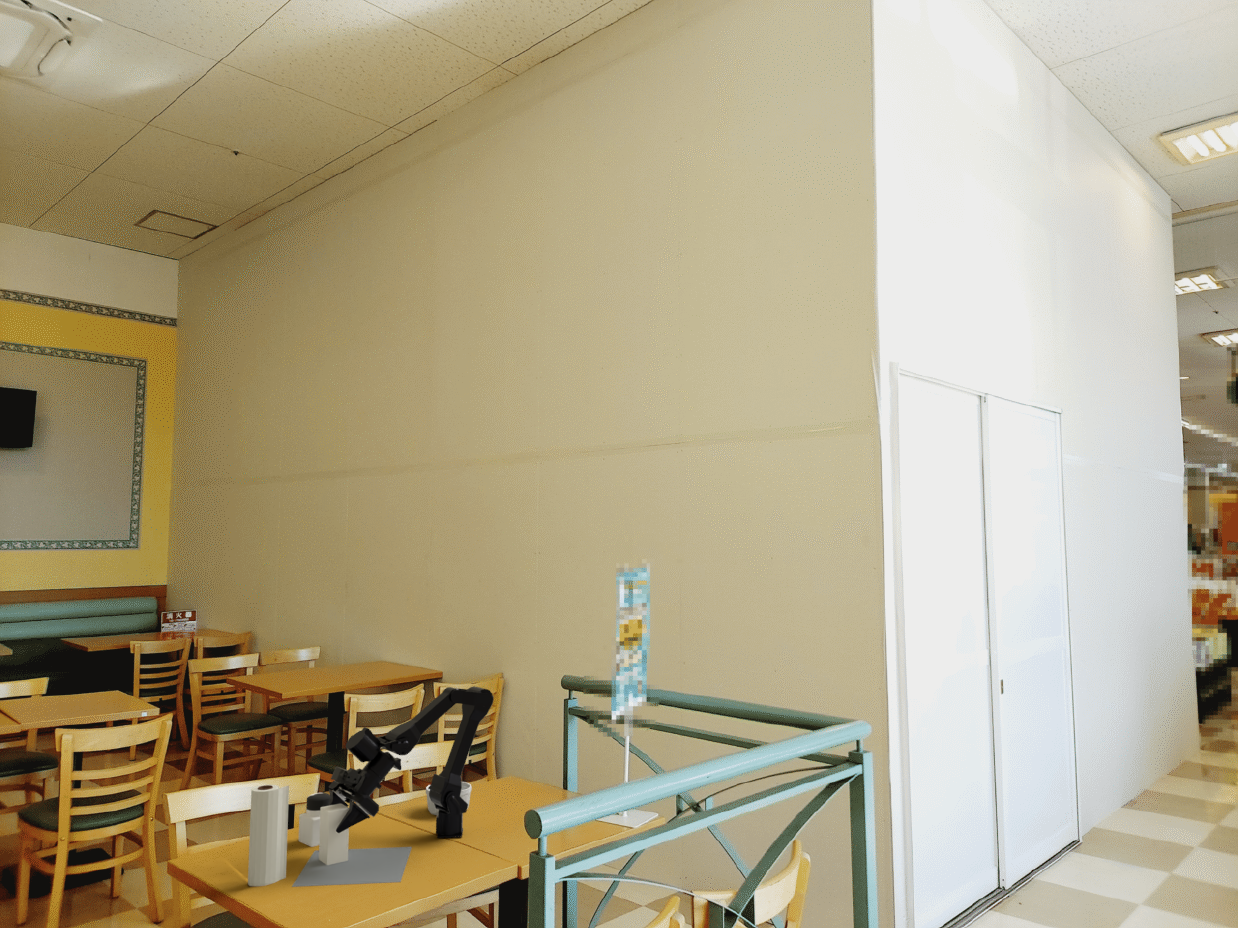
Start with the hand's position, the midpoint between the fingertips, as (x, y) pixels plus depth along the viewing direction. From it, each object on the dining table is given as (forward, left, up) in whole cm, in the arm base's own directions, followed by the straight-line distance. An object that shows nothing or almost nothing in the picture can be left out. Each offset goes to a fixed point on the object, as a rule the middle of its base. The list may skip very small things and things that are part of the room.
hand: (329, 827), depth 217 cm
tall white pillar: (-1, -1, -8) cm, 8 cm away
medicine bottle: (+6, -16, -9) cm, 19 cm away
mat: (-7, +4, -8) cm, 12 cm away
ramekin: (-26, -40, -9) cm, 49 cm away
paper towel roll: (+12, +12, -9) cm, 19 cm away
